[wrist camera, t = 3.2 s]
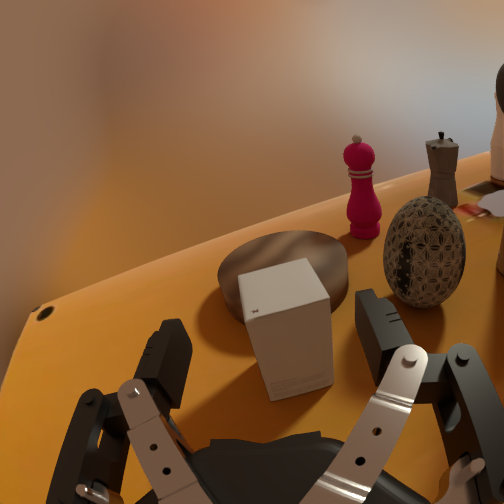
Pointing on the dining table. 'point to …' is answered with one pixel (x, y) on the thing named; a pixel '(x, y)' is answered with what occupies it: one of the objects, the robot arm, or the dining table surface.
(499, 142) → the wine bottle
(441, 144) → the coffeepot
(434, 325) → the dining table surface
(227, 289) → the walnut base
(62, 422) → the dining table surface
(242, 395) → the dining table surface
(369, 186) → the pepper mill
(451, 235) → the decorative egg
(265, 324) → the supplement box
